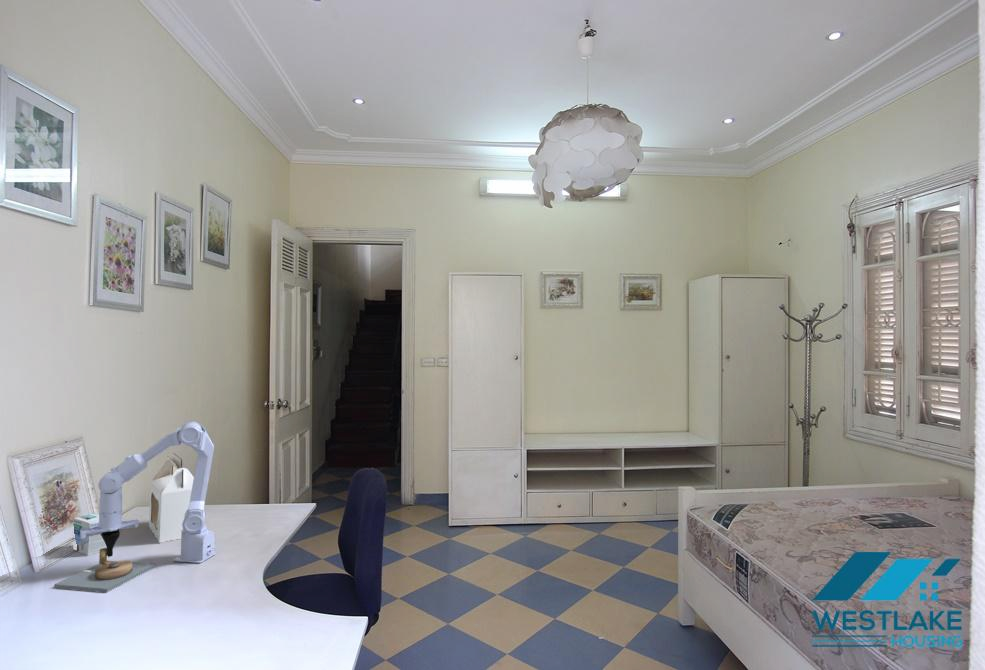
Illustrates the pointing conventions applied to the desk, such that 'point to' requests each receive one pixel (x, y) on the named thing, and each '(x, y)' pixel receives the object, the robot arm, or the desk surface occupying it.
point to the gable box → (169, 499)
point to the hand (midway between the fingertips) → (109, 555)
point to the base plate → (90, 583)
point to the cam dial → (111, 567)
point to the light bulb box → (92, 542)
